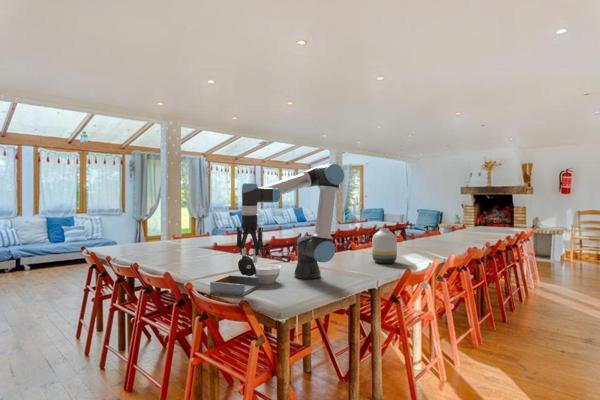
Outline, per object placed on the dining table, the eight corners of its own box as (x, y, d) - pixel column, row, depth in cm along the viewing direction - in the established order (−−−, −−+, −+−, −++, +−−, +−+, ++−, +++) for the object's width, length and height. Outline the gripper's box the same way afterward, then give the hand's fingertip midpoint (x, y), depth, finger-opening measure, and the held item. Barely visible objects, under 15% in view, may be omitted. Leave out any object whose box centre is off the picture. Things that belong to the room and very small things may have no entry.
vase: (372, 264, 238) (372, 229, 238) (371, 260, 254) (371, 227, 254) (398, 265, 235) (398, 229, 235) (395, 260, 252) (395, 227, 252)
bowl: (256, 287, 177) (256, 270, 177) (248, 280, 191) (248, 265, 191) (286, 284, 183) (285, 268, 183) (275, 278, 198) (275, 263, 198)
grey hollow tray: (259, 287, 177) (259, 277, 177) (243, 295, 161) (243, 285, 161) (229, 284, 183) (229, 274, 183) (210, 292, 167) (210, 282, 167)
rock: (238, 258, 171) (235, 254, 161) (254, 255, 172) (252, 251, 162) (242, 280, 167) (239, 277, 158) (258, 276, 168) (256, 274, 159)
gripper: (270, 214, 170) (270, 261, 170) (236, 214, 176) (236, 259, 176) (263, 215, 163) (263, 264, 163) (228, 214, 169) (228, 262, 169)
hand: (249, 261), depth 169 cm, fingers closed on rock, 6 cm apart
